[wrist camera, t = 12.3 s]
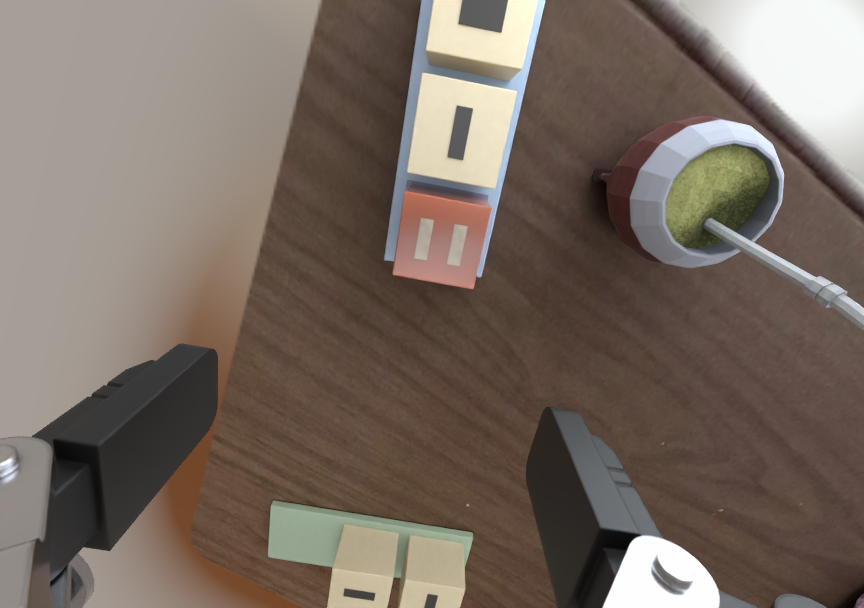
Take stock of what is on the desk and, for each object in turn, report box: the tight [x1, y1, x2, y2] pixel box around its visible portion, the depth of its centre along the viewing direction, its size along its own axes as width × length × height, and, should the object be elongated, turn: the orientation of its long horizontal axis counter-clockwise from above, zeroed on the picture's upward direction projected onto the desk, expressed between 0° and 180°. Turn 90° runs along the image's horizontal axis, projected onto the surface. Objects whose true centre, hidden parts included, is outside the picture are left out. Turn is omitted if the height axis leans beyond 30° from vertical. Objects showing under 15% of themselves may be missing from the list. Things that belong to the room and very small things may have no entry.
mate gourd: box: [592, 116, 864, 331], centre depth 19 cm, size 8×8×15 cm
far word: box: [268, 500, 473, 608], centre depth 35 cm, size 17×6×5 cm, turn 80°
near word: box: [384, 0, 545, 277], centre depth 23 cm, size 16×6×5 cm, turn 170°
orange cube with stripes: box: [392, 184, 492, 289], centre depth 25 cm, size 5×5×4 cm
